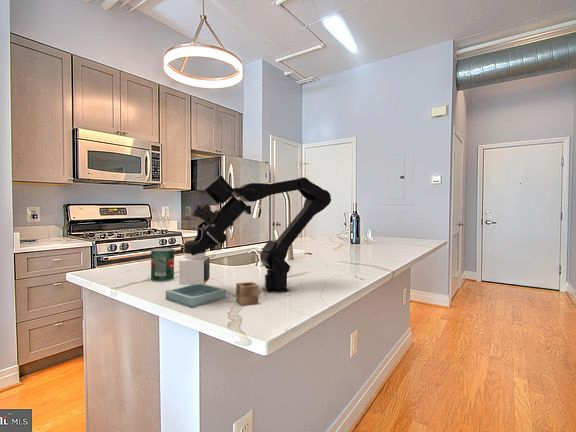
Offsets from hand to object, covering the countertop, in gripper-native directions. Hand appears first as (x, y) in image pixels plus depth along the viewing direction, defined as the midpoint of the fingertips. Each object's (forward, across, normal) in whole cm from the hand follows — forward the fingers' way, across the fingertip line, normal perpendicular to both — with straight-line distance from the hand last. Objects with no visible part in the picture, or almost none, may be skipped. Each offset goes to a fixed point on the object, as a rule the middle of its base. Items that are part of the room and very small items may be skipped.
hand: (190, 252), depth 91 cm
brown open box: (-1, +10, +20) cm, 22 cm away
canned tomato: (+14, -27, +5) cm, 31 cm away
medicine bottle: (+5, 0, +7) cm, 9 cm away
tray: (+8, +1, +10) cm, 13 cm away
